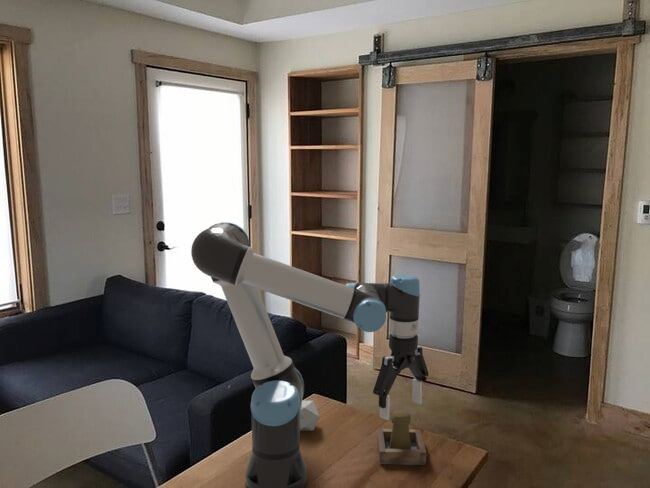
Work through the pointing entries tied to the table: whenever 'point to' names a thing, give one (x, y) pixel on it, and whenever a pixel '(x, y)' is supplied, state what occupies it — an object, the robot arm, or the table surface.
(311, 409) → the die
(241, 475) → the table surface
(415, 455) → the wooden tray
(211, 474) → the table surface
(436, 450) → the table surface
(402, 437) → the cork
